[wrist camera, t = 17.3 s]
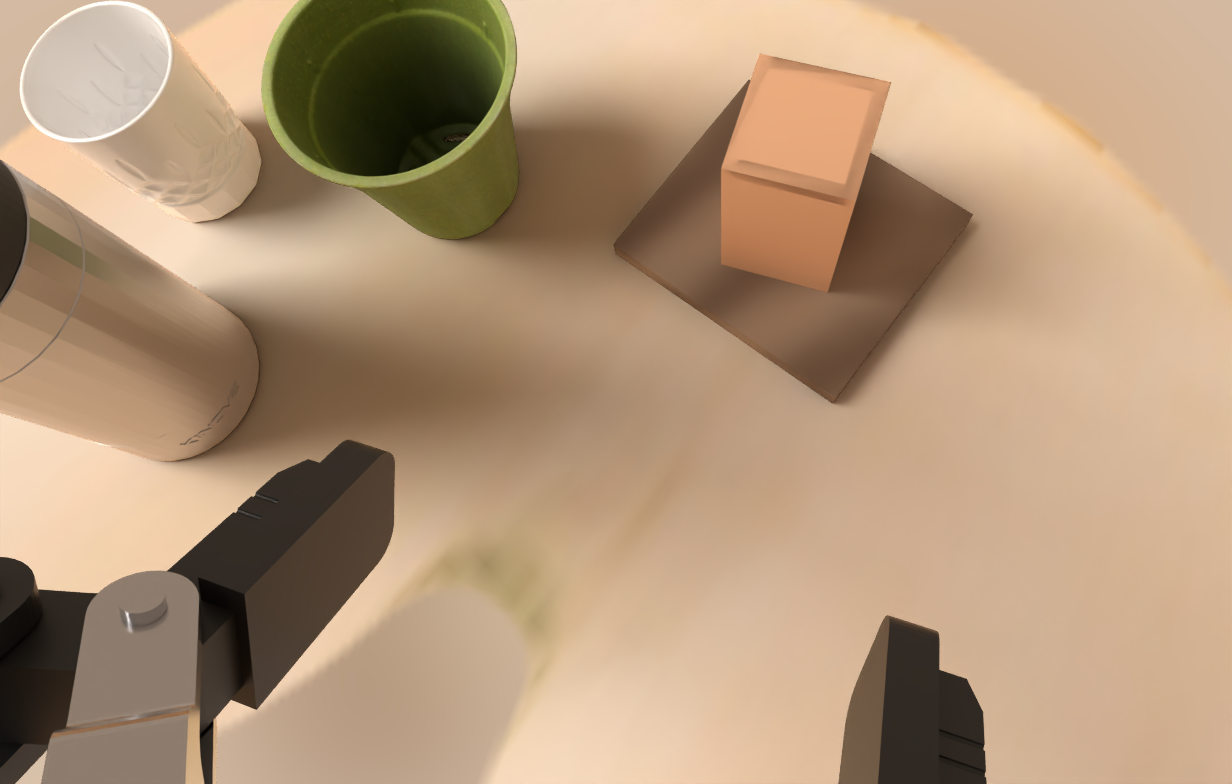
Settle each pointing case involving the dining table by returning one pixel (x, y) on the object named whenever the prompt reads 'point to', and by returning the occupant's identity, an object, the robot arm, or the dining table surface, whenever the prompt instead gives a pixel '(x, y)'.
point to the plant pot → (400, 104)
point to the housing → (796, 169)
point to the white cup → (139, 110)
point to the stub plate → (778, 310)
